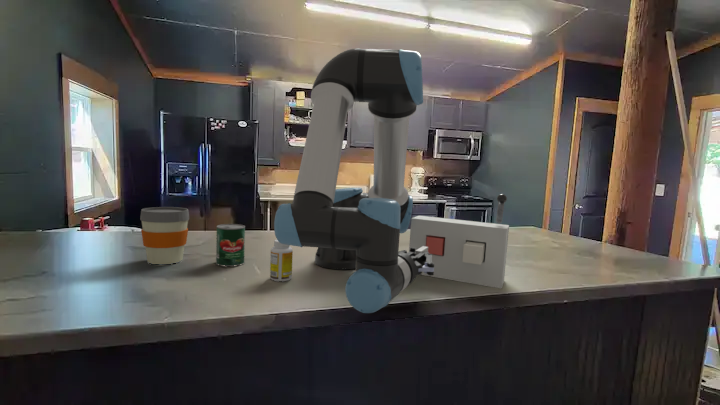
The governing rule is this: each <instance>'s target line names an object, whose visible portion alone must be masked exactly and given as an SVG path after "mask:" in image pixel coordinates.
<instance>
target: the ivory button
mask: <svg viewBox="0 0 720 405" xmlns="http://www.w3.org/2000/svg"><path fill="white" fill-rule="evenodd" d="M484 251H485V243H479V242H471V241H467V242H466V243H465V244H464V249H463V261H462V262H466V263H473V264H479V265H481V263H482V262H483V260H484Z"/></svg>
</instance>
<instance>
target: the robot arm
mask: <svg viewBox="0 0 720 405" xmlns="http://www.w3.org/2000/svg"><path fill="white" fill-rule="evenodd" d="M422 62H423V60H422V55H421V54H420V53H419V52H418V51H415V50H408V49H407V50H404V49H402V48H400V49H377V48H376V49H375V48H369V49H368V48H351V49H347V50H343V51H342V52H340V53H338V54H337V55H335V56H334V57H332V58H331V59H330V60H329V61H328V62H326V64H324V66H323V67H322V68H321V70H320V71H319V72H318V74H317V76H316V78H315V80H314V82H313V85H312V88H311V93H310V101H311V103H312V105H313V106H312V110H311V111H312V112H311V115H310V119H309V120H310V121H309V124H308V129H307V134H306V138H305V143H304V146H303V152H302V157H301V160H300V166H299V169H298V175H297V179H296V184H295V187H294V188H295V190H294V193H293V199H292V202H291V203H290V202H289V203H282V204H280V205H279V206H278V207H277V210H276V211H275V216H274V222H273V228H274V235H275V238H276V239H277V240H278V241H279V242H280V243H281V244H285V245H290V246H293V247H297V248H298V247H299V248H303V247H304V248H305V247H306V248H307V247H308V248H317V250H316V252H315V256H314V263H315V265H316V266H318V267H320V268H325V269H330V270H331V269H332V270H354V269H355V271H354V272H353V273H352V274H351V275H350V276H349V277H348V279H347V281H346V282H345V283H346V284H345V289H344V290H345V296H346V298H347V301H348V302H349V304H350V305H351V307H353V308H354V309H355V310H356V311H357V312H360V313H363V314H373V313H375V312H377V311H379V310H381V309H382V308H385V307H387V306H388V305H389V304H390V302H391V301H393V299H394V298H396V297H397V296H398V295H400V293H402V291H404V290H405V289H406V288H408V287H409V286H410V285H411V284H412V283H413V282H414V281H415V279H416V277H417V276H418V275H419V276H420V274H421V273H422V272H424V273H427V274H428V275H434V263H433V262H432V254H429V252H428V247H426V246H422V247H421V248H419V249H417V250H415V248H410V251H409V250H408V251H407V250H406V249H405V250H404V249H403V250H400V251H399V245H400V234H404V233H406V232H407V231H408V229H409V226H410V225H411V218H412V213H413V202H414V201H413V200H414V198H413V196H411V195H409V192H408V189H407V188H406V187H405V178H406V177H405V175H406V166H407V165H406V164H407V162H406V161H407V151H408V150H407V149H408V138H409V128H410V127H409V125H410V117H411V116H413V115H414V114H415V113H416V111H417V106H420V105H422V104H423V103H424V85H423V82H424V81H423V80H424V79H423V63H422ZM357 102H358V103H367V106H368V108H367V109H368V112H369V113H370V114H371V115H373V116H374V118H373V122H374V124H373V125H374V126H373V127H374V128H373V185H372V186H371V187H370V188H369V190H368V192H364V190H363V188H362V187H348V188H347V187H345V188H337V184H338V176H339V171H340V164H341V157H342V150H343V144H344V139H345V133H346V132H345V130H346V125H347V118H348V113H349V112H350V111H351V110H352V108H353V107H354V103H357Z"/></svg>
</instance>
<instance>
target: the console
mask: <svg viewBox="0 0 720 405" xmlns="http://www.w3.org/2000/svg"><path fill="white" fill-rule="evenodd" d="M409 229H410V232H409V233H410V234H409V243H408V244H409V246H408V252H409V251H410V248H415V250H417V249H419V248H421V247H422V246H426V241H427V237H428V236H430V235H431V236H438V237H445V248H444V254H443V255H436V254H432V262H433V263H434V275H428V274H427V273H424V272H422V273H421V274H420V275H422V276H426V277H427V276H428V277H433V278H439V279H445V280H450V281H455V282H456V281H457V282H463V283H466V284H467V283H468V284H473V285H479V286H486V287H491V288H496V289H502V288H503V285H504V283H505V276H506V275H505V274H506V266H507V265H506V264H507V254H508V253H507V252H508V240H509V233H510V232H509V231H510V224H502V223H500V224H498V223H493V222H483V221H482V222H481V221H475V220H474V221H473V220H464V219H457V218H456V219H454V218H448V217H447V218H446V217H437V216H427V215H417V216H412V217H411V219H410V228H409ZM467 241H471V242H479V243H485V251H484V260H483V262H482V263H481V265H479V264H473V263H466V262H462V261H463V249H464V244H465V243H466V242H467ZM420 275H419V276H420Z"/></svg>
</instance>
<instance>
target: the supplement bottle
mask: <svg viewBox="0 0 720 405" xmlns="http://www.w3.org/2000/svg"><path fill="white" fill-rule="evenodd" d="M293 252H294V251H293V248H292V247H291V245H285V244H281V243H280V242H279V241H278V240H277V238H276V239H274V240H273V247H271V249H270V265H269V268H270V269H269V276H270V277H269V278H270V279H271V281H273V280H274V282H279V281H282V282H288V281H290V280H291V279H292V278H293Z"/></svg>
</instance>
